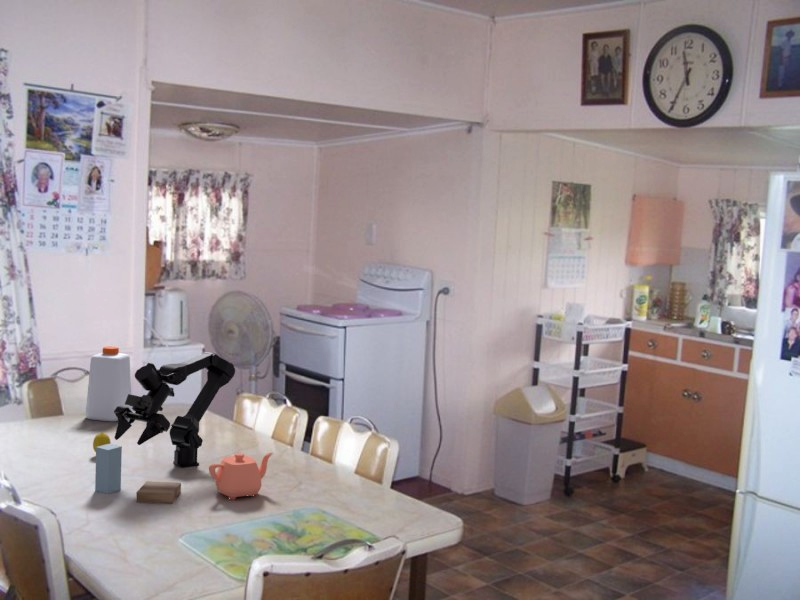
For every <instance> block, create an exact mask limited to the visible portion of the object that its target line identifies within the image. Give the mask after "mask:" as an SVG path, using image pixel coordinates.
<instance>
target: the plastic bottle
mask: <svg viewBox="0 0 800 600" xmlns="http://www.w3.org/2000/svg"><path fill="white" fill-rule="evenodd" d="M119 350H120V348H119V347H117V346H112V345H111V346H103V348H102V352H100V353H96V354H94V355H92V356H91V357H90V364H89V365H90V366H89V373H88V385H87V393H86V395H87V397H86V406H85V418H86V419H88V420H91V421H101V422H118V418H117V417H116V414H115V413H114V411H115V409H116V408H117V407H118V406H123V407H128V408H129V409H130V410H131V411H132V412H133V409H132V406H130V405H125V402H126V399H127V396H128V394H130V395H132V382H131V381H132V378H131V377H132V376H131V358H130V355H129V354H128V353H123V352H122V353H120V351H119Z"/></svg>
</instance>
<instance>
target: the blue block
mask: <svg viewBox="0 0 800 600" xmlns="http://www.w3.org/2000/svg"><path fill="white" fill-rule="evenodd" d="M122 448H123V447H122V445H117V444H113V443H111V444H106V445H102V446H98V447H96V452H95V476H94V477H95V478H94V479H95V481H94V482H95V483H94V491H95V492H99V493H102V494H105V495H108V494H112V493H115V492H118V491H120V490H121V489H122V486H121V485H122V450H123V449H122Z"/></svg>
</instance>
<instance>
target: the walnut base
mask: <svg viewBox="0 0 800 600" xmlns="http://www.w3.org/2000/svg"><path fill="white" fill-rule="evenodd" d="M181 488H182V482H173V481H171V482H170V481H152V480H151V481H150V480H147V481H145V482H144V484H143V485H142V486H141V487H140V488H139V489H138V490H137V491H136V500H135V501H136V503H137V502H139V503H142V502H144V503H142V504H159V503H164V504H165V505H172V504H173V503H174V502H175V501H176V499H177V498H178V497H179V495H180V494H181V493H182V492H181V490H182V489H181ZM164 504H163V505H164Z"/></svg>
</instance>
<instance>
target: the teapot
mask: <svg viewBox="0 0 800 600" xmlns="http://www.w3.org/2000/svg"><path fill="white" fill-rule="evenodd" d="M273 454H274V452H269V453H266V454H265V455H264V456H263V458H262V460H261V464H260V466H258V463H257V460H255V458H253V457H252V456H249V455H245V453H242V452H240V453H239V452H238V453H234V455H229V456H225V457H223V458H222V460H221V461H220V463H211V464H210V465H209V466H208V472H209V474H210V475H211V477H212V478H213V480H215V481H214V482H215V487H216V489H217V490H218V492H220V494H222V495H224V496H225V497H227V499H228V498H230V499H235V498H236V499H237V497H238V498H239V497H247V495H248V496H253V495H257V494H258V493H259V492H260V490H261V488H262V479H263V478H264V477H265V476H266V473H267V468H268V467H267V466H268V461H269V459H270V457H271V456H272V455H273ZM216 469H217V470H216ZM236 499H235V500H236Z"/></svg>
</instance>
